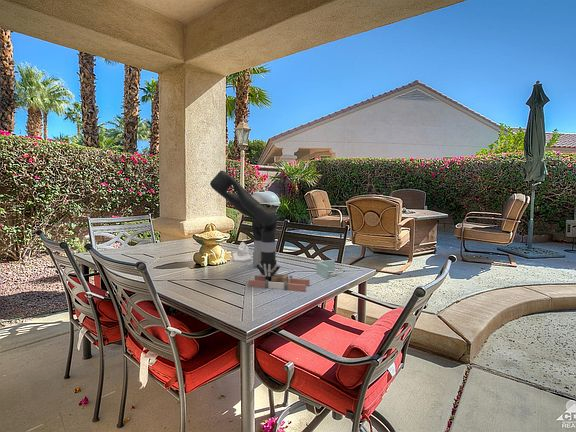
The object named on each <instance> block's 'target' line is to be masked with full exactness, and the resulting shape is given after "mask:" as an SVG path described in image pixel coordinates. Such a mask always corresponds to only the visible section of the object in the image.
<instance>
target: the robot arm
mask: <svg viewBox="0 0 576 432" xmlns="http://www.w3.org/2000/svg"><path fill="white" fill-rule="evenodd" d="M209 186H210V187H211V188H212V190H214V191H215V192H216V193H218V194H219V195H220V196H221V197H223V198H224V199H225V200H226V201H227V202H229V203H230V204H231V205H232V206H233V207H234V208H235V209H236V210H237V211H238V212H239V213H240V214H242V215H244V216H246V217H248V218H251V220H252V221H251V227H252V228H251V229H252V237H253V252H252V267H253V268H256V269H258V271H259V272H260V274H261V276H264V275H265V280H268V281H269V282H271V276H273V275H275V274H277V272H278V271H279V270H280V269H281V265H279V264H277V262H276V260H277V258H276V257H277V256H276V255H277V254H276V253H277V252H276V251H277V249H276V246H277V245H276V229H277V222H278V218H277V214H276V213H275V212H274V211H271V210H269V211H267V210H266V209H265V208H264V207H263V204H262V203H260V202H259V201H258V200H257V198H254V197H253V196H252V195H251V194H250V193H249V192H248V191H246V189H245V188H244V187H243V186H242V185H241V184H240V183H239V182H238V181H236V179H235V178H234V177H232V176H231V175H230V174H229V173H228V172H227V171H225V170H220V171H219V172H218V173H217V174H216V175H215V176H214V177H213V178H212V180H211V181H210V183H209ZM231 186H233V188H234V189H235V191H236V193H233V192H232V193H231V192H228V189H230V188H231ZM274 266H275V270H274V271H273V273H272V269H273V268H274ZM263 268H264V269H263Z"/></svg>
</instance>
